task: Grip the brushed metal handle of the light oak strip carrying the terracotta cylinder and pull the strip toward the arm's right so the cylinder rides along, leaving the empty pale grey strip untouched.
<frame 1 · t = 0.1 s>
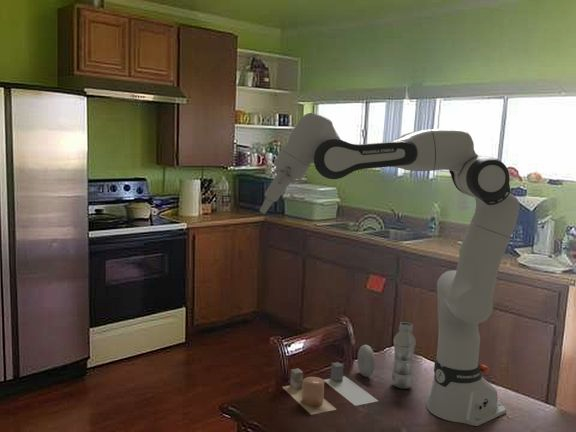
hand: (263, 210, 150), 54 cm above the table, tool tilted 30°, fingers open, 8 cm apart
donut: (364, 376, 176), on the table
grey strip: (350, 383, 162), point 3 cm above the table, slide at 0.0 cm
terracotta cylinder: (312, 401, 154), point 1 cm above the table, touching oak strip
plastic bottle: (401, 387, 169), on the table
oak strip: (308, 391, 156), point 3 cm above the table, slide at 0.0 cm, touching terracotta cylinder
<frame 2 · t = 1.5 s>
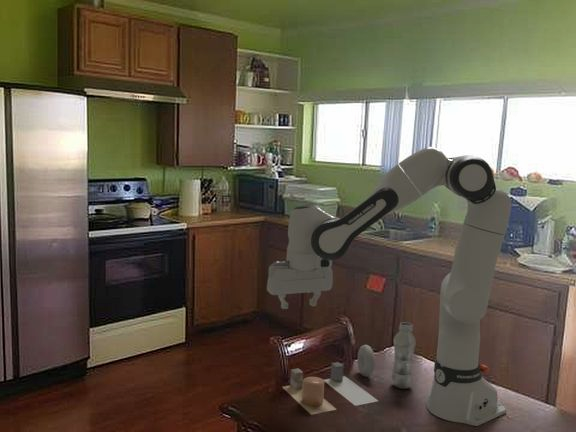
hand: (298, 307, 159), 26 cm above the table, tool pointing down, fingers open, 8 cm apart
nothing on the table moved.
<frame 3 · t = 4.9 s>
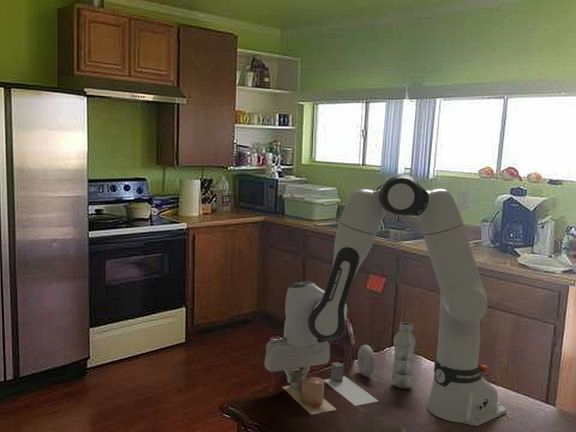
hand: (296, 380, 162), 3 cm above the table, tool pointing down, fingers closed on oak strip, 2 cm apart
oak strip: (308, 391, 156), point 3 cm above the table, slide at 0.0 cm, touching gripper, terracotta cylinder
everything else where it was.
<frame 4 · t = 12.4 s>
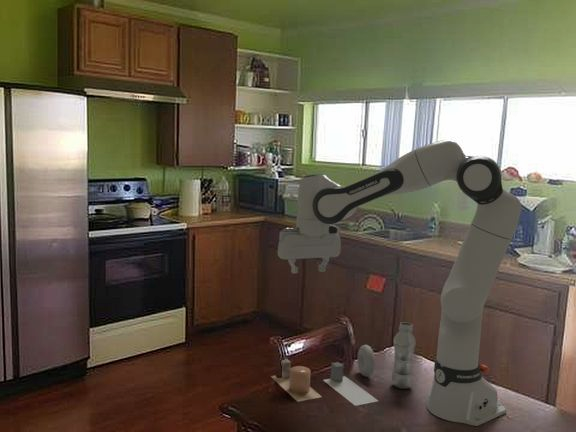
hand: (308, 272, 167), 34 cm above the table, tool pointing down, fingers open, 8 cm apart
terracotta cylinder: (299, 389, 161), point 1 cm above the table, touching oak strip
oak strip: (295, 379, 163), point 3 cm above the table, slide at 8.0 cm, touching terracotta cylinder
everything else where it was.
at the end: terracotta cylinder 0.5 cm from the target spot, point 1.2 cm above the table; terracotta cylinder tilted 0°; grey strip slide at 0.0 cm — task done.
